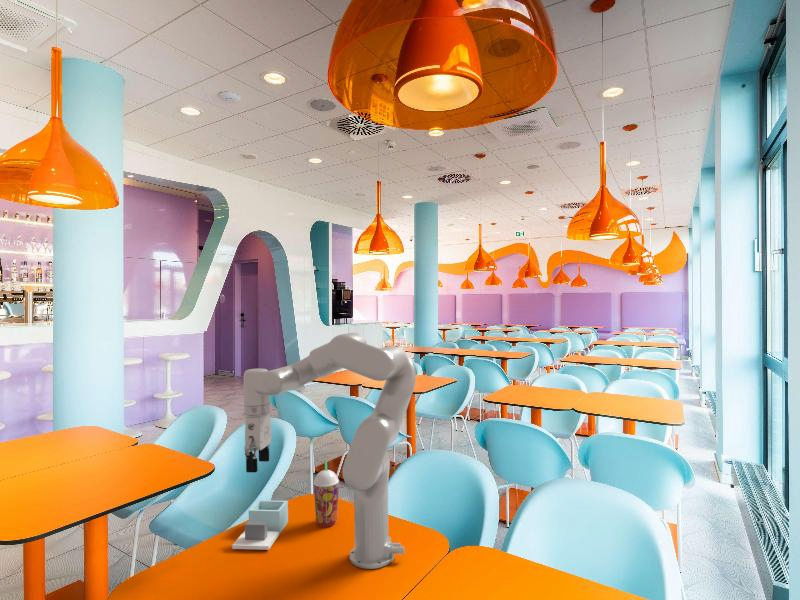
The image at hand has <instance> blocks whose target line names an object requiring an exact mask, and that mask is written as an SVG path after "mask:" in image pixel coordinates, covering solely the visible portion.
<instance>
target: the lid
mask: <svg viewBox="0 0 800 600" xmlns="http://www.w3.org/2000/svg"><path fill="white" fill-rule="evenodd" d="M279 536H280V534H279V532H277V531H267V522H257V521H249V520H247V522H246V523H245V524H244V531H243V532H242V533H241V534H240V535H239V536H238V538H237V539H236V540H235V541H234V543H232V544H231V549H232V550H258V551H259V550H261V551H262V550H265V551H266V550H267V551H269V550H270V549H271V547H272V546H273V544H274V543H275V541H276V540H277V539H278V537H279Z"/></svg>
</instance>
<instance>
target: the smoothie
mask: <svg viewBox="0 0 800 600" xmlns="http://www.w3.org/2000/svg"><path fill="white" fill-rule="evenodd" d="M339 482H340V479H339V478H338V476H337V474H336V473H335V472H334V471H332V470H331V469H328V461H325V462H324V469H323V470H321V471H320V472H318V473H317V475H316V476H315V478H314V481H313V482H312V483H313V494H314V495H313V496H314V507H315V508H314V509H315V510H314V511H315V521H316V522H317V525H318V526H319V527H322V528H329V527H332V526H334V525H335V524H336V521H337V520H338V509H339V486H340V485H339Z"/></svg>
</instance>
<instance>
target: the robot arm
mask: <svg viewBox="0 0 800 600" xmlns="http://www.w3.org/2000/svg"><path fill="white" fill-rule="evenodd" d="M342 369H345V370H347V371H349V372H352V373H354V374H357V375H359V376H362V377H365V378H367V379H370V380H373V381H377V382H381V381H382V382H383V381H385V383H384V385H383V387H382V389H381V391H380V394H379V397H378V400H377V402H376V404H375V407H374V409H373V411H372V413H371V414H370V415H368V416H367V417H366V418H364V419H363V420H362V421H361V422H360V424H359V425H358V427H357V429H356V431H355V433H354V436H353V438H352V440H351V443H350V445H349V449H348V452H347V454H346V456H345V460H344V462H343V466H342V477H343V481H344V482H345V485H346V486H347V487H348V488H349V489H351V490H353V491H354V496H353V497H354V503H353V504H354V506H353V507H354V510H353V511H354V547H353V548H352V549H351V550H350V552H349V561H350V562H351V564H352V565H354V566H356V567H358V568H360V569H365V570H367V569H368V570H373V569H380V568H383V567H386V566H387V565H389V564H391V563H392V562H393V561H394V558H395V554H397V555H404V554H405V546H402V544H401V542H393V541H392V537H391V536H389V479H390V477H389V476H390V467H391V465H390V464H391V463H390V462H391V460H390V456H389V453H388V449H389V447H390V446H391V445H392V444H393V443H394V442H395V440H396V439H397V437H398V436H399V434H400V430H401V427H402V424H403V421H404V418H405V416H406V413H407V410H408V408H409V404H410V402H411V399H412V396H413V393H414V390H415V387H416V378H417V377H416V375H417V374H416V368H415V364H414V363H413V360H412V359H411V356H410V355H409V354H408V353H407V352H406V351H405V350H404V349H403V348H401V347H399V346H396V345H387V346H383V347H376V346H373V345H371V344H369V343H368V342H367V340H366V338H365V337H364V336H363V335H361V334H359V333H358V332H347V333H341V334H338V335H336V336H334V337H333V338H331V340H330V341H329V342H328V343H324V344H323V345H320V346H318V347H316V348H313V349H312V350H311V351H310V352H309V354H308V355H307V356H306V357H304V358H302V359H301V360H298V361H297V362H294V363H292V364H288V365H287V366H282V367H278V368H276V369H275V368H274V369H271V370H268V369H267V368H258V367H257V368H250V369H246V370H245V371H244V373H243V408H244V409H243V411H244V412H243V413H244V415H243V416H244V417H245V426H244V428H245V429H244V448H243V449H244V456H245V466H246V467H245V468H246V473H257V472H258V471H259V470H258V469H259V468H258V461H259V462H268V463H269V461H270V444H271V442H272V438H273V437H272V425H271V424H272V423H271V417H270V415H271V396H279V395H281V394H284V393H286V392H289V391H293V390H296V389H298V388H299V387H302V386H305V385H306V384H309V383H311V382H314V381H316V380H318V379H321V378H325V377H327V376H328V375H331V374H333V373H335V372H337V371H340V370H342ZM257 455H258V458H257Z"/></svg>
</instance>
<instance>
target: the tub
mask: <svg viewBox="0 0 800 600" xmlns="http://www.w3.org/2000/svg"><path fill="white" fill-rule="evenodd" d="M288 505H289V501H288V500H274V499H273V500H270V499H269V500H268V499H266V500H265V499H263V500H262V499H258V500H257V501H256V502H255V503H254V504H253V506H252V507H250V509H248V521H257V522H267V531H277V532H279V535H280V534H281V533H282V531H283V530H284V528H285V527H286V525H287V524H288V523H289V506H288Z"/></svg>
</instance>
